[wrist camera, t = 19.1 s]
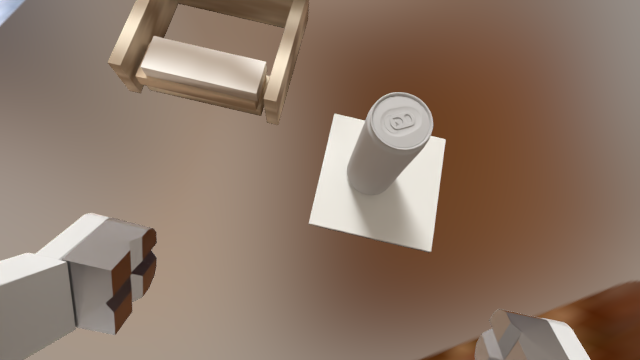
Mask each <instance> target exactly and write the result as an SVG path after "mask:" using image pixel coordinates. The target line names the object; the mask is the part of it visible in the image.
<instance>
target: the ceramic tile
mask: <svg viewBox="0 0 640 360" xmlns="http://www.w3.org/2000/svg"><path fill="white" fill-rule="evenodd" d="M364 123H365V121H364V120H359V119H355V118H351V117H346V116H342V115H338V114H334V118H333V123H332V127H331V131H330V135H329V139H328V144H327V149H326V152H325V156H324V161H323V165H322V170H321V174H320V178H319V182H318V187H317V191H316V195H315V199H314V204H313V208H312V212H311V216H310V221H309V225H313V226H317V227H322V228H326V229H330V230H335V231H339V232H343V233H348V234H352V235H356V236H361V237H365V238H369V239H374V240H378V241H382V242H386V243H391V244H395V245H399V246H403V247H408V248H412V249H417V250H421V251H425V252H431V249H432V241H433V233H434V226H435V218H436V210H437V202H438V195H439V187H440V179H441V171H442V164H443V156H444V148H445V139H441V138H437V137H433V136H430V139H429V141H428V142H427V144H426V145H425V147H424V148H423V149H422V150H421V152H420V153H419V154H418V155H417V156H416V157H415V158H414V159H413V160H412V162H411V163H410V164H409V165H408V166H407V167H406V168H405V169H404V170H403V171H402V172H401V174H400V175H399V176H398V177H397V178H396V180H395V181H394V182H393V183H392V184H391V185H390V187H389V188H388V189H386V190H385V191H384V192H382V193H380V194H377V195H366V194H364V193H361V192H359V191H358V190H356V189H355V188H354V187H353V186H352V185H351V183H350V181H349V179H348V176H347V165H348V163H349V160H350V157H351V155H352V152H353V150H354V147H355V145H356V142H357V140H358V138H359V135H360V133H361V130H362V128H363V125H364Z"/></svg>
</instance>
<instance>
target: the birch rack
mask: <svg viewBox="0 0 640 360" xmlns="http://www.w3.org/2000/svg"><path fill="white" fill-rule="evenodd" d="M178 4H183V5H188V6H192V7H196V8H200V9H205V10H209V11H213V12H217V13H222V14H226V15H231V16H235V17H239V18H243V19H248V20H252V21H256V22H261V23H265V24H269V25H274V26H278V27H282V28H285V30H284V32H283V36H282V39H281V43H280V46H279V49H278V52H277V56H276V59H275V62H274V66H273V69H272V72H271V75H270V79H269V82H268V85H267V88H266V92H265V95H264V98H263V99H264V106H265V113H266V119H267V123H271V124H275V125H278V123H279V120H280V116H281V113H282V109H283V106H284V102H285V98H286V95H287V92H288V88H289V85H290V81H291V78H292V74H293V70H294V67H295V63H296V60H297V56H298V53H299V49H300V46H301V42H302V38H303V35H304V31H305V28H306V24H307V21H308V11H309V0H136V3H135V5H134V7H133V9H132V11H131V13H130V15H129V17H128V20H127V22H126V24H125V26H124V28H123V30H122V32H121V35H120V37H119V39H118V41H117V43H116V46H115V48H114V50H113V52H112V54H111V57H110V58H109V61H108V64H109V65H110V66H111V68H112V69H113V70H114V71H115V73H116V74H117V75H118V77H119V78H120V79H121V80H122V82H123V83H124V84H125V86H126V87H127V88H128V89H129V91H133V92H137V93H141V91H142V89H143V86H144V85H142V84H140V82H139V81H138V79H137V78H136V77H135V75H136V73H137V71H138V68H139V66H140V64H141V61H142V59H143V57H144V54H145V52H146V50H147V47H148V45H149V43H151V41H152V39H153V36H157V37H161V38H164V36H165V34H166V32H167V29H168V27H169V24H170V22H171V20H172V17H173V15H174V12H175V10H176V8H177V5H178Z"/></svg>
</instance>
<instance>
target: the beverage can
mask: <svg viewBox="0 0 640 360" xmlns="http://www.w3.org/2000/svg"><path fill="white" fill-rule="evenodd" d="M432 129H433V118H432V115H431V112H430V110H429V109H428V107H427V105H425V103H423V102H422V101H421V100H420V99H419V98H417V97H415V96H413V95H411V94H408V93H401V92H396V93H390V94H387V95H385V96H383V97H381V98H380V99H379V100H378V101H377V102H376V103H375V104H374V105H373V106H372V108H371V109H370V111H369V113H368V115H367V118H366V120H365V123H364V125H363V128H362V130H361V133H360V135H359V138H358V140H357V142H356V145H355V147H354V150H353V152H352V155H351V157H350V160H349V163H348V165H347V176H348V179H349V181H350V183H351V185H352V186H353V187H354V188H355V189H356V190H358V191H359V192H361V193H364V194H366V195H377V194H380V193H382V192H384V191H385V190H386V189H388V188H389V187H390V185H391V184H392V183H393V182H394V181H395V180H396V178H397V177H398V176H399V175H400V174H401V172H402V171H403V170H404V169H405V168H406V167H407V166H408V165H409V164H410V163H411V162H412V160H413V159H414V158H415V157H416V156H417V155H418V154H419V153H420V152H421V150H422V149H423V148H424V147H425V145H426V144H427V142H428V141H429V139H430V135H431V133H432Z"/></svg>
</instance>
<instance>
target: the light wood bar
mask: <svg viewBox="0 0 640 360" xmlns="http://www.w3.org/2000/svg"><path fill="white" fill-rule="evenodd" d="M266 73H267V65H266V62H265V61H260V60H256V59H252V58H247V57H243V56H238V55H234V54H230V53H225V52H221V51H217V50H212V49H208V48H204V47H199V46H196V45H191V44H187V43H183V42H178V41H174V40H169V39H165V38H161V37H157V36H153V39H152V41H151V43H149V45H148V47H147V50H146V52H145V54H144V57H143V59H142V61H141V64H140V66H139V68H138V71H137V73H136V75H135V77H136V78H137V79H138V81H139V82H140V84H142V85H146V86H148V88H149V89H150V90H152V91H156V92H160V93H165V94H169V95H174V96H178V97H182V98H186V99H190V100H195V101H199V102H203V103H208V104H212V105H217V106H221V107H225V108H229V109H234V110H238V111H242V112H247V113H251V114H255V115H259V116H261V114H262V111H263V108H264V99H263V98H264V95H265V92H266V88H267V85H268V82H269V79H270V76H268V75H266Z"/></svg>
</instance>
